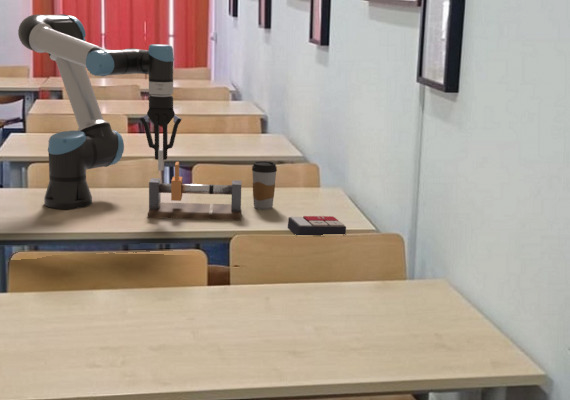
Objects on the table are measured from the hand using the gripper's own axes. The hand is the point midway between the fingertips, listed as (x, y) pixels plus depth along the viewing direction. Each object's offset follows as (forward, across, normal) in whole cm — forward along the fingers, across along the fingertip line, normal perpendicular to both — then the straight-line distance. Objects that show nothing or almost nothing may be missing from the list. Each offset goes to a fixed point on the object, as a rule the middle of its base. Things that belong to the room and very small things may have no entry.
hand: (161, 169), depth 259 cm
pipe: (+13, +11, 0) cm, 17 cm away
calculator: (+15, +49, -18) cm, 54 cm away
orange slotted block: (+9, +5, 0) cm, 10 cm away
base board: (+14, +11, 0) cm, 18 cm away
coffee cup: (+14, +33, +10) cm, 37 cm away
